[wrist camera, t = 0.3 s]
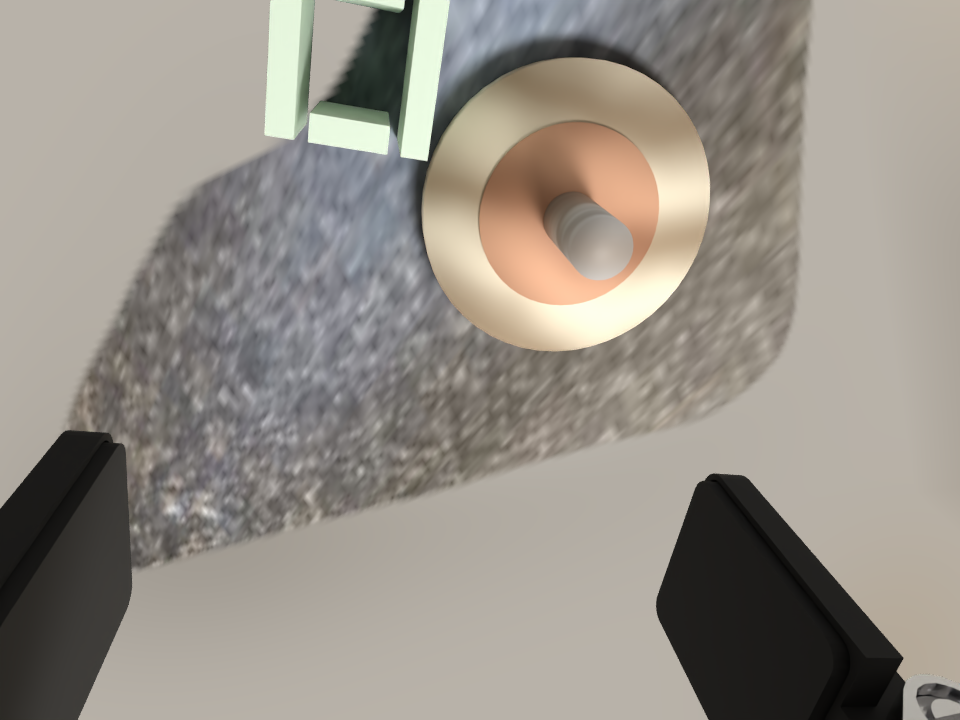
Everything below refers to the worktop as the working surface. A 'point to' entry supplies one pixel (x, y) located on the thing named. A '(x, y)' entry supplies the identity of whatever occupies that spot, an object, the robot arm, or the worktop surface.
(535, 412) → the worktop surface
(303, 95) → the collar
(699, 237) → the post base
